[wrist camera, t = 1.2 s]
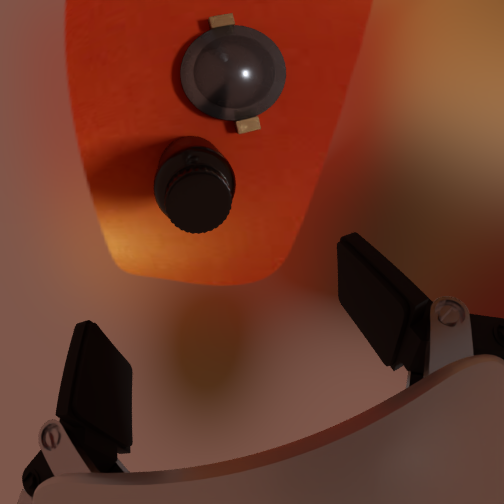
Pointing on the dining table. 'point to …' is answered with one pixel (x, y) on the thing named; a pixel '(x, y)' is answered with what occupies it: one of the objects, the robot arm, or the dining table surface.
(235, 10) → the dining table surface
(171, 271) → the dining table surface
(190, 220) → the supplement bottle
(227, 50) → the base
